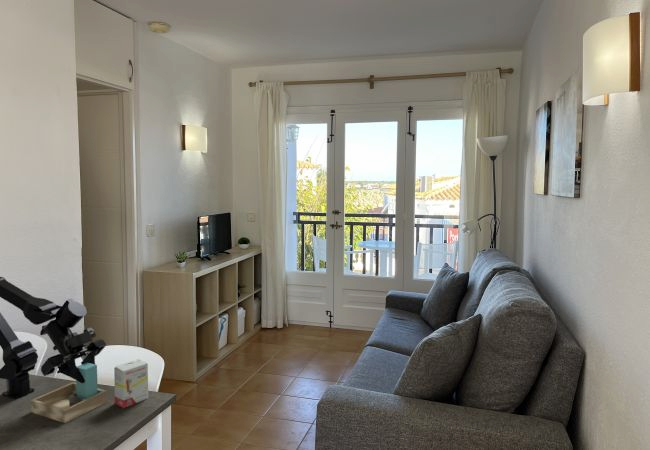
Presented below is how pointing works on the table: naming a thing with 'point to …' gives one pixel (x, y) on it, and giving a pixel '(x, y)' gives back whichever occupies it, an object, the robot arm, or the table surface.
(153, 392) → the table surface
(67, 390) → the walled box
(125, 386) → the ink box
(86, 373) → the plug
